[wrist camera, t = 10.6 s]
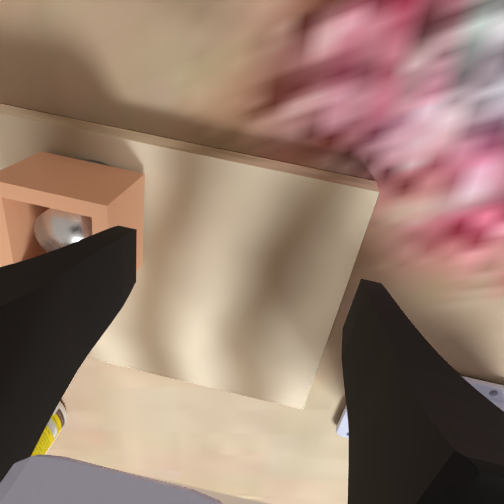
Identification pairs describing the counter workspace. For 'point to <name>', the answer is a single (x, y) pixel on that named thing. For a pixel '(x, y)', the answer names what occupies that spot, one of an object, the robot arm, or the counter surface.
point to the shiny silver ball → (62, 226)
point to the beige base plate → (219, 256)
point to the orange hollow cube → (66, 200)
